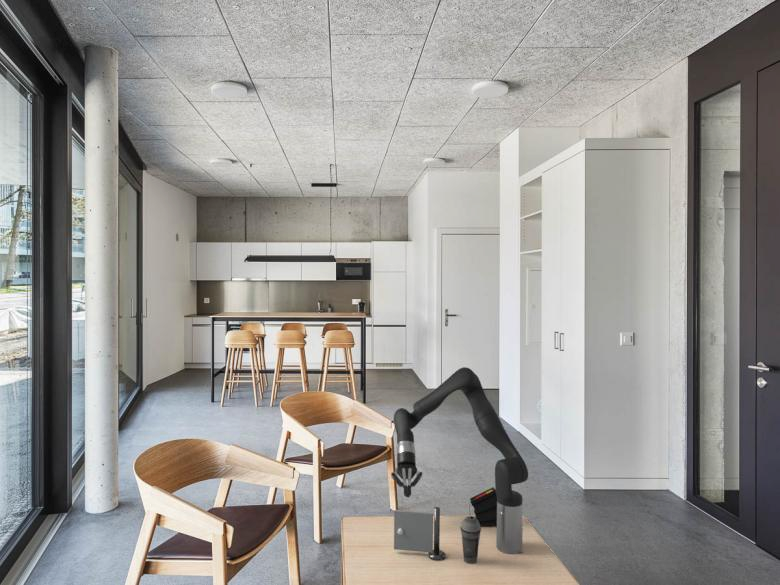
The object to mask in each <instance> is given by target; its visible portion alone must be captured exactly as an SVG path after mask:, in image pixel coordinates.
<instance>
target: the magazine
mask: <svg viewBox="0 0 780 585" xmlns="http://www.w3.org/2000/svg"><path fill="white" fill-rule="evenodd" d="M469 501H470V505H471V506H472V507H473V512H474V515H475V516H474V517H475V518H476V519H477V520H478V521H479V523H480V526H481V528H487V527H488V528H495V527H496V528H497V495H496V490H495V487H491V488H489V489H486V490H485V491H483V492H480V493H479V494H476V495H474V496H473V497H470V498H469Z"/></svg>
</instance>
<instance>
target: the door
mask: <svg viewBox="0 0 780 585" xmlns="http://www.w3.org/2000/svg"><path fill="white" fill-rule="evenodd" d="M393 512H394V514H393V521H394V522H393V527H394V528H393V550H398V551H408V552H420V553H428V552H430V553H433V550H434V512H431V511H430V512H429V511H417V510H416V511H415V510H404V509H394V511H393Z"/></svg>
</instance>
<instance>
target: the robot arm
mask: <svg viewBox="0 0 780 585" xmlns="http://www.w3.org/2000/svg"><path fill="white" fill-rule="evenodd" d="M458 390H460V391H461V392H462V393H463V394H464V395H465V398H466V400H468V403H469V404H470V407H471V409H472V416H473V419H474V423H475V426H476V427H477V429H478V431H479V433H480V435H481V436H482V437H483V439H485V440H486V441H487V442H488V443H489V444H491V445H492V446H493V447H494V448H496V449H497V450H498V451H499V452H500V453H501V455H502V456H503V457H504V458H502V459H499V460H497V461H496V463H495V467H494V480H495V481H494V482H495V483H494V484H495V487H494V489H495V490H496V495H497V527H496V537H495V538H496V541H495V543H496V544H495V546H496V549H497V550H498V551H499V552H502V553H504V554H518V553H523V532H524V531H523V529H524V528H523V495H522V494H521V493H520V492H518V491H515V490H512V489H513V488H512V485H516V484H517V485H518V484H522V483H525V482H527V480H528V478H529V470H528V467H527V464H526V463H525V460H524V459H523V457H522V456H521V454H520V452H519V451H518V450H517V448H516V446H515V445H514V443H513V442H512V440H511V438H510V436H509V434H508V433H507V431H506V429H505V427H504V426H503V423H502V421H501V419H500V417H499V415H498V414H497V412H496V410H495V408H494V406H493V405H492V403H491V402H490V401H489V398H487V395H486V393H485V390H484V388H483V385H482V382H481V379H480V378H479V376H478V375H477V374H476V373H475V372H474V371H473V370H472V369H471V368H469V367H463V366H462V367H460V368H458V369H457V370H456V371H454V372H453V373H452V374H451V375H450V376H449V377H448V378H447V379H446V380H444V381H443V382H442V383H441V384H439V386H437V387H436V388H435V389H434V390H432V391H431V392H429V393H428V394H427V395H425V396H423V397H422V398H420V399H419V400H418V401H416V402H414V403H413V405H412V406H413V411H412V412H410V411H409V410H408V409H406V408H404V407H403V408H402V407H401V408H398V409H396V411H395V412H394V415H393V425H394V428H395V429H394V430H395V433H396V442H397V443H396V444H397V447H396V469H395V470H394V472H391V475H390V477H391V478H392V480H394V482H395V483H396V484H397V486H398V487H399V488H403V496H404V497H405V498H410V497H411V496H412V488H413V487H416V486H417V484H418V483H419V482H420V480H421V479H422V478H423V472H422V471H419V470H418V468H417V464H416V462H417V460H416V449H415V448H416V446H415V435H414V432H413V431H412V429H414V428H415V427H416V426H418V424H419V423H420V422H421V421H422V420H424V419H423V418H425V417H427V416H428V415H429V414H432V413H433V412H435V411H436V410H437V409H438V408H440V407H441V405H442V404H443V402H444V401H445V399H446V400H447V398H448V396H450V395H452V394H453V393H454V392H456V391H458ZM414 477H415V478H414ZM413 478H414V479H413ZM412 479H413V480H412Z"/></svg>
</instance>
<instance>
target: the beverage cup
mask: <svg viewBox="0 0 780 585" xmlns="http://www.w3.org/2000/svg"><path fill="white" fill-rule="evenodd" d="M459 528H460V532H461V542H462V554H463V555H462V556H463V562H464V563H466V564H469V565H474V564H477V562H478V561H477V560H478V555H479V554H478V553H479V543H480V536H481V533H482V527H481V526H480V523H479V521H478V520H477V519H476V516H471V502H470V503H469V502H468V516H466V517H464V518H463V520H461V524H460V527H459Z"/></svg>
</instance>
